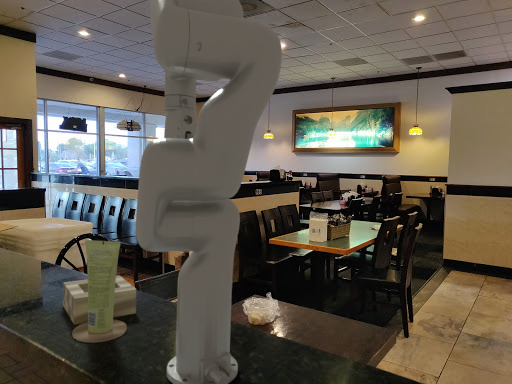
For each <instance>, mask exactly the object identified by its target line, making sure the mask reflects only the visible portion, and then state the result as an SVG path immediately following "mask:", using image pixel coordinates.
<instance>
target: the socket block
mask: <svg viewBox="0 0 512 384" xmlns="http://www.w3.org/2000/svg"><path fill="white" fill-rule="evenodd" d="M62 288H63V289H62V306H63V308H64V310H65V311H66V313H67V315H68V317H69V319H70V320H71V321H72V323H73V325H74V326H76V325H81V324H84V323H87V322H88V278H86V279H80V280H72V281H65V282H63V283H62ZM136 313H137V288H136V287H134V286H133V285H132V284H130V282H128V281H127V280H126V279H124V278H123V277H122V276H121V275H116V282H115V294H114V309H113V318H117V317H123V316H128V315H133V314H136Z"/></svg>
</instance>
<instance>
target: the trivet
mask: <svg viewBox="0 0 512 384" xmlns="http://www.w3.org/2000/svg"><path fill="white" fill-rule="evenodd" d="M127 330H128V327H127V324H126V323H125V322H124V321H121V320H118V319H113V326H112V329H111V330H110V331H109V332H106V333H101V334H94V333H91V332H89V331H88V322H86V323H81V324H78V325H77V326H76V327H74V328H73V330H72V331H71V332H72V334H71V335H72V338H73V339H74V340H75V339H76V340H75V341H77V342H80V343H87V344H88V343H89V344H90V343H91V344H93V343H105V342H109V341H113V340H115V339H118V338H120V337H122V336H123V335H124V334H126V332H127Z"/></svg>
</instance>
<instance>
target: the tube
mask: <svg viewBox="0 0 512 384" xmlns="http://www.w3.org/2000/svg"><path fill="white" fill-rule="evenodd" d="M84 242H85V243H84V244H85V251H86V266H87V269H86V270H87V279H88V331H89V332H91V333H94V334H101V333H106V332H109V331H110V330H111V329H112V326H113V320H114V317H113V309H114V294H115V282H116V276H117V271H118V270H117V269H118V259H119V254H120V250H121V249H120V247H121V241H111V240H109V241H106V240H92V239H91V240H90V239H85V241H84Z"/></svg>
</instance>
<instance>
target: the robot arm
mask: <svg viewBox="0 0 512 384" xmlns="http://www.w3.org/2000/svg"><path fill="white" fill-rule="evenodd" d="M149 16H150V17H149V19H150V29H151V34H152V42H153V43H152V45H153V51H154V57H155V59H156V61H157V63H158V65H159V66H160V67H161V68H162V69H163V70H164V103H163V104H164V105H163V106H164V109H163V110H164V111H165V112H166V113H165V120H164V123H165V124H164V132H163V133H164V135H163V136H164V137H161V138H160V137H159V138H155V139H153V140H152V141H150V142H148V143H147V145H145V148H144V150H143V152H142V156H141V160H140V168H139V176H138V189H137V200H136V213H135V215H136V216H135V234H136V240H137V243H138V245H139V246H140V248H141V249H143V250H145V251H148V252H151V253H153V252H154V253H156V252H157V253H165V252H168V253H169V252H186V251H187V252H191V253H190V254H189V256H188V257H187V259H186V260H185V261H184V263H183V264H182V266H181V267H180V269H179V272H178V276H177V291H176V292H177V297H176V301H177V302H176V334H175V337H176V339H175V356H174V357H172V358H171V359H170V360H169V361H168V363H167V365H166V371H165V372H166V377H167V379H168V380H169V381H170V382H171V383H172V384H229V383H231V382H232V381H234V380H235V379H236V377H237V375H238V373H239V371H238V370H239V364H238V362H237V360H236V359H235V358H234V357H233V356H232V354H231V353H230V351H231V319H232V298H233V297H232V294H233V293H232V291H233V290H232V289H233V272H234V260H235V259H234V258H235V251H236V245H237V239H238V234H239V231H240V222H241V219H240V218H241V216H240V211H239V208H238V206H237V204H236V203H235V202H234V201H233V200H231V198H233V197H234V196H235V195H236V194H238V191H239V189H240V188H241V184H242V182H243V179H244V176H245V171H246V168H247V164H248V160H249V155H250V151H251V147H252V144H253V139H254V135H255V131H256V128H257V126H258V125H257V124H259V121H260V119H261V116H262V115H263V113H264V111H265V109H266V108H267V105H268V104H269V102H270V100H271V97H272V96H273V93H274V92H275V89H276V86H277V85H278V84H277V83H278V81H279V78H280V74H281V68H282V57H283V55H282V53H283V50H282V43H281V39H280V37H279V35H278V34H277V32H275V31H274V30H273V29H272V28H270V27H269V26H267V25H265V24H263V23H260V22H258V21H255V20H250V19H246V18H244V9H243V6H242V4H241V2H240V0H151V1H150V9H149ZM222 79H224V80H229V82H228V83H226V84H225V85H224V86H222V87H221V88H219V89H218V90H217V91H216V92H215V93H214V94H213V95H211V96H210V97H209V99H208V100H207V101H206V102H205V103H204V104H203V105H202V107H201V109H200V111H199V113H198V116H197V115H196V114H197V113H196V104H197V102H196V101H197V100H196V99H197V80H198V81H206V82H218V81H220V80H222Z"/></svg>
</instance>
